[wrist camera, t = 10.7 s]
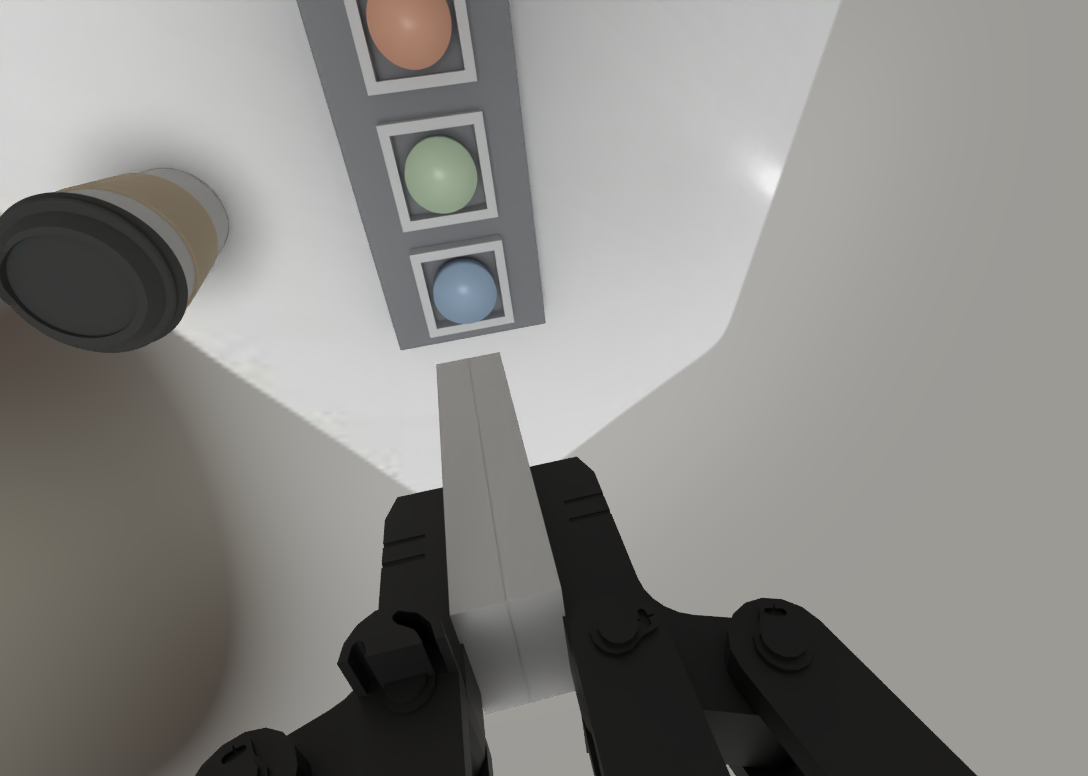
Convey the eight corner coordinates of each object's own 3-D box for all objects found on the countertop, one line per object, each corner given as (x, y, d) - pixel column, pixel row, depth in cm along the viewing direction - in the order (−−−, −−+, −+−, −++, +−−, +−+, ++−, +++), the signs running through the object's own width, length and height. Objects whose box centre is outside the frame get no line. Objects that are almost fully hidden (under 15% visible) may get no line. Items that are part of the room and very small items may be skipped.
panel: (492, -81, 34) (500, -96, 31) (539, 309, 50) (549, 330, 46) (286, -60, 33) (270, -73, 29) (401, 334, 49) (400, 358, 45)
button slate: (489, 253, 42) (491, 260, 41) (498, 310, 45) (501, 317, 44) (426, 264, 42) (427, 271, 40) (440, 320, 44) (441, 329, 43)
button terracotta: (440, -33, 32) (442, -36, 31) (457, 63, 35) (458, 64, 34) (357, -23, 32) (355, -26, 30) (381, 73, 34) (379, 74, 33)
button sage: (468, 130, 37) (470, 133, 36) (480, 202, 40) (482, 207, 39) (397, 140, 37) (396, 143, 35) (414, 212, 39) (414, 218, 38)
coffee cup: (248, 174, 39) (171, 233, 27) (242, 285, 43) (172, 380, 31) (102, 134, 36) (-61, 179, 24) (110, 257, 40) (-25, 350, 28)
